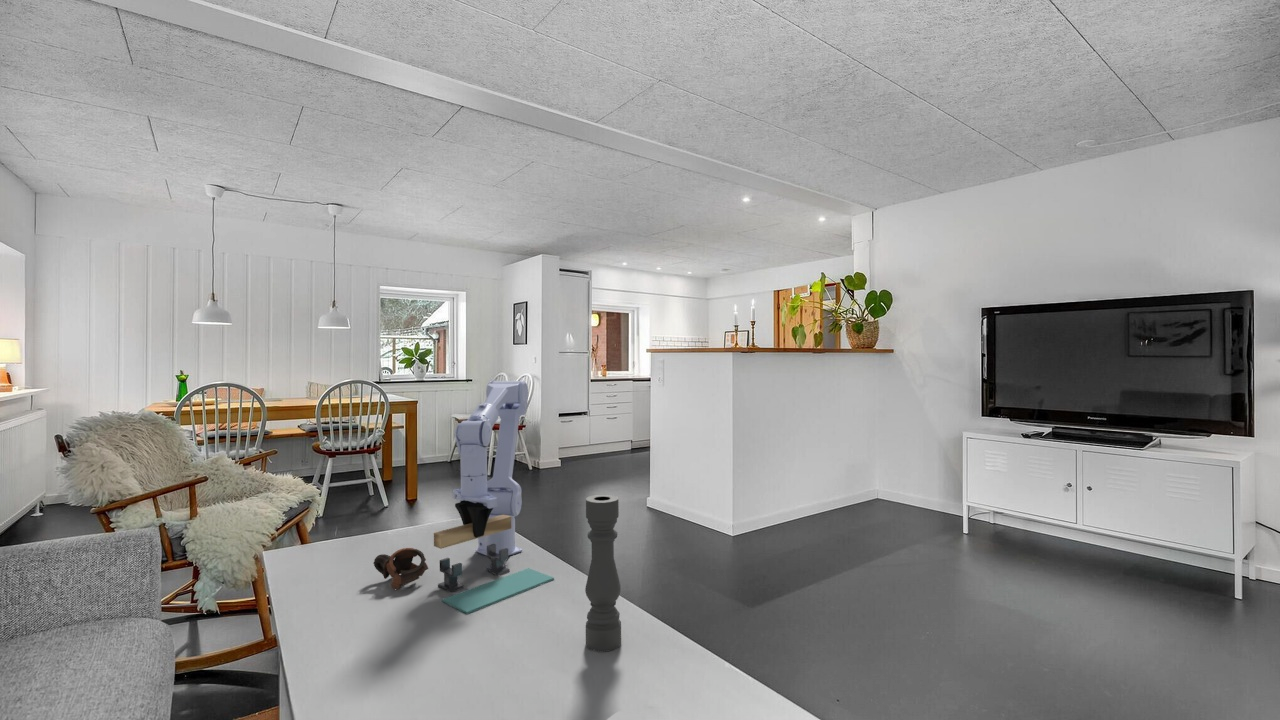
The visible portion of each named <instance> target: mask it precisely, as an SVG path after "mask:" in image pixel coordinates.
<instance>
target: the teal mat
mask: <svg viewBox="0 0 1280 720" xmlns="http://www.w3.org/2000/svg"><path fill="white" fill-rule="evenodd" d="M554 580H555V577H553V576H552V575H548V574H545V573H542V572H540V571H538V570H535V569H532V568H530V567H527V568H525V569H522V570H519V571H517V572H514V573H511V574H509V575H506V576H503V577H501V578H498V579H495V580H491V581H489V582H486V583H484V584H480V585H478V586H475V587H473V588H470V589H466V590H464V591H461V592H458V593H456V594H454V595H451V596H447V597H445V598H441V600H442V601H441V602H443V603H445V604H447V605H449V606H450V605H451V607H452V608H454V607H455V608H454V609H457V610H458V611H459V612H462V613H464V614H466V615H468V614H470V613H474V612H475V611H478V610H481V609H483V608H485V607H488V606H491V605H494V604H496V603H499V602H501V601H503V600H505V599H509V598H511V597H514V596H516V595H518V594H521V593H523V592H527V591H529V590H531V589H534V588H535V587H538V586H541V585H543V584H546V583H549V582H551V581H554Z"/></svg>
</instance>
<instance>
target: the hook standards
mask: <svg viewBox="0 0 1280 720" xmlns="http://www.w3.org/2000/svg"><path fill="white" fill-rule="evenodd" d="M486 557H487V558H491V560H490V561H491V565H489V566H486V567H485V571H487V572H489V573H491V574H494V575H497V576H502V575H504V574H507V573H509V572H510V568H508V567H506V566H505V565H504V564H505V561H507V560H509V556H508V548H505V549H502V550H499V554H498V553H496V544H491V545H488V546H487V555H486ZM439 572H440V573H443V576H444V577H443V581H442V582H439V583H438V587H439V588H441V589H443V590H444V591H448V592H449V593H454V592H457V591H459V590H462V589H464V588H465V587H464V584H461V583H460V582H459V581H458V578H459V577H460V576H463V563H462V562H457V563H455V564H452V565H451V558H450V557H445V558H443V559H439Z"/></svg>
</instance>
